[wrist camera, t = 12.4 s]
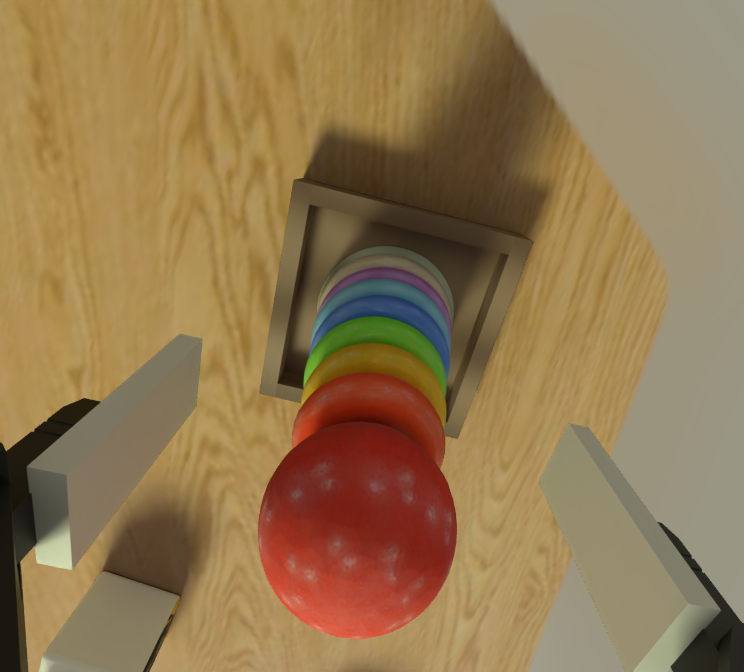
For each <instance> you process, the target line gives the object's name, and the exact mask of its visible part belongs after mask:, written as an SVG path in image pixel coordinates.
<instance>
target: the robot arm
mask: <svg viewBox="0 0 744 672" xmlns="http://www.w3.org/2000/svg"><path fill="white" fill-rule="evenodd" d="M201 349H202V339H201V338H196V337H192V336H188V335H183V334H179V335H178V336H177V337H175V338H174V339H173V340H172V341H171V342H170V343H169V344H167V345H166V346H165V347H164V348H163V349H162V350H160V351H159V352H158V353H157V354H156V355H155V356H154V357H152V358H151V359H150V360H149V361H148V362H147V363H145V364H144V365H143V366H142V367H141V368H140V369H139V370H137V371H136V372H135V373H134V374H133V375H132V376H130V377H129V378H128V379H127V380H126V381H125V382H124V383H122V384H121V385H120V386H119V387H118V388H117V389H115V390H114V391H113V392H112V393H111V394H110V395H109V396H107V397H106V398H105V399H104V400H103V401H102V402H100V401H95V400H90V399H86V398H83V399H81V400H79V401H76V402H74V403H71V404H69V405H67V406H64V407H62V408H61V409H60V410H59V411H57V412H56V413H55V414H53V415H52V416H51V417H50V418H48V420H47V422H45V421H44V422H43V423H42V424H41V425H39V426H38V427H37V428H36V429H35V430H34V432H30V433H29V434H28V435H27V436H25V437H24V438H23V439H21V440H20V441H19V442H18V443H16V444H15V445H14V446H12V447H11V448H10V449H9V450H7V451H6V450H5V448H4V446H3V444H2V443H0V672H28V661H27V647H26V632H25V618H24V604H23V589H22V575H21V565H20V561H21V560H22V559H23V558H24V557H25V556H26V554H27V553H28V552H29V551H30V550H31V549H32V548H33V547H34V546H35V550H36V559H37V563H39V564H44V565H49V566H54V567H59V568H65V569H70V570H73V568H74V567H75V566H76V564H77V563H78V562H79V560H80V559H81V558H82V556H83V555H84V554H85V552H86V551H87V550H88V548H89V547H90V546H91V545H92V543H93V542H94V541H95V539H96V538H97V537H98V535H99V534H100V533H101V531H102V530H103V529H104V527H105V526H106V525H107V523H108V522H109V521H110V519H111V518H112V517H113V516H114V514H115V513H116V512H117V510H118V509H119V508H120V506H121V505H122V504H123V502H124V501H125V500H126V498H127V497H128V496H129V494H130V493H131V492H132V490H133V489H134V488H135V487H136V485H137V484H138V483H139V481H140V480H141V479H142V477H143V476H144V475H145V473H146V472H147V471H148V469H149V468H150V467H151V465H152V464H153V463H154V461H155V460H156V459H157V458H158V456H159V455H160V454H161V452H162V451H163V450H164V448H165V447H166V446H167V444H168V443H169V442H170V440H171V439H172V438H173V436H174V435H175V434H176V432H177V431H178V430H179V429H180V427H181V426H182V425H183V423H184V422H185V421H186V419H187V418H188V417H189V415H190V414H191V413H192V411H193V410H194V409H195V407H196V406H197V394H198V383H199V372H200V361H201ZM539 483H540V486H541V488H542V490H543V492H544V494H545V497H546V499H547V501H548V503H549V505H550V508H551V510H552V512H553V514H554V516H555V519H556V521H557V523H558V525H559V527H560V530H561V532H562V534H563V536H564V538H565V541H566V543H567V545H568V547H569V549H570V552H571V554H572V556H573V558H574V560H575V563H576V565H577V567H578V569H579V571H580V574H581V576H582V578H583V580H584V583H585V585H586V587H587V589H588V591H589V594H590V596H591V598H592V600H593V602H594V605H595V607H596V609H597V611H598V613H599V616H600V618H601V620H602V622H603V624H604V627H605V629H606V631H607V633H608V635H609V638H610V640H611V642H612V644H613V646H614V648H615V651H616V653H617V655H618V657H619V660H620V662H621V664H622V666H623V668H624V670H625V672H668V671H669V670H670V669H672V671H673V672H744V623H742V622H741V621H740V620H739V618H738V617H737V616H736V614H735V613H734V612H733V610H732V609H731V608H730V606H729V605H728V604H727V602H726V601H725V600H724V598H723V597H722V596H721V594H720V593H719V592H718V590H717V589H716V588H715V586H714V585H713V584H712V582H711V581H710V580H709V578H708V577H707V576H706V574H705V573H702V569H701V568H700V566H699V565H698V564H697V562H696V561H695V560H694V559H692V558H691V554H690V553H689V552H688V550H687V549H686V548H685V546H684V545H683V544H682V542H681V541H680V540H679V538H677V537H676V536H675V535H674V534H673V533H672V532H671V531H670V530H669V529H668V528H667V527H665V526H664V525H663V524H662V523H659V522H657V521H656V520H655V519H654V517H653V516H652V514H651V513H650V512H649V510H648V509H647V507H646V506H645V505H644V503H643V502H642V501H641V499H640V498H639V496H638V495H637V494H636V492H635V491H634V490H633V488H632V487H631V485H630V484H629V483H628V481H627V480H626V478H625V477H624V476H623V474H622V473H621V472H620V470H619V469H618V467H617V466H616V465H615V463H614V462H613V461H612V459H611V458H610V456H609V455H608V454H607V452H606V451H605V449H604V448H603V447H602V445H601V444H600V443H599V441H598V440H597V438H596V437H595V436H594V434H593V433H592V432H591V430H590V429H589V428H587V427H583V426H579V425H574V424H570V423H568V425H567V427H566V429H565V431H564V433H563V435H562V437H561V439H560V441H559V443H558V445H557V447H556V449H555V451H554V453H553V455H552V457H551V459H550V461H549V462H548V464H547V466H546V468H545V470H544V472H543V474H542V476H541V478H540V480H539Z"/></svg>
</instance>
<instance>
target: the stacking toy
mask: <svg viewBox="0 0 744 672" xmlns="http://www.w3.org/2000/svg"><path fill="white" fill-rule="evenodd" d="M451 342H452V313H451V306H450V302H449V299H448V296H447V294H446V292H445V290H444V288H443V286H442V285H441V283H440V282H439V280H438V279H437V278H436V277H435V276H434V275H433V274H432V273H431V272H430V271H429V270H428V269H427V268H426V267H424V266H423V265H421V264H420V263H418V262H416V261H414V260H412V259H409V258H407V257H404V256H400V255H395V254H371V255H366V256H363V257H360V258H357V259H355V260H352V261H350V262H349V263H347V264H345V265H344V266H343V267H341V268H340V269H339V270H338V271H337V272H336V273H335V274H334V275H333V276H332V277H331V278H330V280H329V281H328V282H327V284H326V285H325V287H324V289H323V291H322V294H321V296H320V299H319V303H318V308H317V317H316V321H315V324H314V327H313V331H312V336H311V348H310V354H309V358H308V361H307V364H306V367H305V372H304V383H303V386H304V389H303V393H302V397H301V408H300V410H299V412H298V414H297V417H296V419H295V422H294V427H293V432H292V447H293V449H292V450H291V451H290V452H289V453H288V454H287V455H286V457H285V458H284V459H283V460H282V462H281V463H280V465H279V466H278V468H277V469H276V471H275V472H274V474H273V476H272V477H271V479H270V481H269V483H268V485H267V488H266V491H265V494H264V496H263V500H262V504H261V508H260V514H259V521H258V542H259V551H260V556H261V561H262V564H263V568H264V571H265V574H266V576H267V579H268V581H269V583H270V585H271V587H272V588H273V590H274V592H275V594H276V595H277V596H278V598H279V599H280V601H281V602H282V603H283V604H284V605H285V606H286V607H287V608H288V609H289V611H290V612H291V613H293V614H294V615H295V616H296V617H297V618H298V619H300V620H301V621H302V622H304V623H306V624H307V625H309V626H311V627H312V628H314V629H316V630H318V631H320V632H323V633H325V634H329V635H333V636H337V637H341V638H351V639H366V638H372V637H377V636H380V635H384V634H387V633H390V632H393V631H395V630H397V629H399V628H401V627H403V626H404V625H406V624H407V623H409V622H410V621H412V620H413V619H415V618H416V617H417V616H418V615H420V614H421V613H422V612H423V611H424V610H425V609H426V608H427V607H428V606H429V605H430V603H431V602H432V601H433V600H434V599H435V597H436V596H437V594H438V593H439V591H440V589H441V588H442V586H443V584H444V582H445V580H446V578H447V576H448V573H449V571H450V568H451V565H452V561H453V557H454V553H455V547H456V537H457V522H456V512H455V507H454V502H453V498H452V495H451V492H450V489H449V485H448V483H447V481H446V479H445V477H444V475H443V473H442V472H441V470H440V468H441V465H442V462H443V458H444V454H445V434H444V427H445V422H446V401H445V395H446V382H447V379H448V375H449V368H450V350H451Z"/></svg>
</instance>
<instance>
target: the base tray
mask: <svg viewBox="0 0 744 672" xmlns="http://www.w3.org/2000/svg"><path fill="white" fill-rule="evenodd" d="M533 242H534V241H532V240H530V239H528V238H526V237H525V236H523V235H521V234H518V233H514V232H510V231H506V230H502V229H498V228H494V227H491V226H487V225H483V224H479V223H475V222H471V221H467V220H463V219H459V218H456V217H452V216H448V215H444V214H440V213H436V212H432V211H428V210H424V209H421V208H417V207H413V206H409V205H405V204H401V203H397V202H393V201H389V200H386V199H382V198H378V197H374V196H370V195H366V194H362V193H358V192H354V191H351V190H347V189H343V188H339V187H335V186H331V185H327V184H323V183H319V182H316V181H312V180H308V179H304V178H301V179H295V180H294V181H293V187H292V193H291V199H290V205H289V212H288V218H287V224H286V230H285V236H284V243H283V249H282V255H281V261H280V267H279V274H278V280H277V286H276V292H275V298H274V305H273V311H272V317H271V323H270V329H269V336H268V342H267V348H266V354H265V360H264V367H263V373H262V379H261V385H260V392H259V394H263V395H268V396H272V397H276V398H281V399H285V400H290V401H294V402H298V403H301V397H302V393H303V389H304V386H303V383H304V372H305V367H306V364H307V361H308V358H309V354H310V348H311V336H312V331H313V327H314V324H315V321H316V317H317V308H318V303H319V299H320V296H321V294H322V291H323V289H324V287H325V285H326V284H327V282H328V281H329V280H330V278H331V277H332V276H333V275H334V274H335V273H336V272H337V271H338V270H339V269H340V268H341V267H343V266H344V265H345V264H347V263H349V262H350V261H352V260H355V259H357V258H360V257H363V256H366V255H371V254H395V255H400V256H404V257H407V258H409V259H412V260H414V261H416V262H418V263H420V264H421V265H423V266H424V267H426V268H427V269H428V270H429V271H430V272H431V273H432V274H433V275H434V276H435V277H436V278H437V279H438V280H439V282H440V283H441V285H442V286H443V288H444V290H445V292H446V294H447V296H448V299H449V302H450V306H451V313H452V342H451V350H450V368H449V375H448V379H447V382H446V395H445V401H446V422H445V427H444V434H445V436H447V437H452V438H456V439H458V437H459V434H460V432H461V429H462V426H463V424H464V421H465V419H466V416H467V413H468V411H469V408H470V406H471V403H472V400H473V398H474V395H475V393H476V390H477V387H478V385H479V382H480V380H481V377H482V374H483V372H484V369H485V367H486V364H487V361H488V359H489V356H490V354H491V351H492V348H493V346H494V343H495V341H496V338H497V335H498V333H499V330H500V327H501V325H502V322H503V320H504V317H505V314H506V312H507V309H508V307H509V304H510V301H511V299H512V296H513V294H514V291H515V288H516V286H517V283H518V281H519V278H520V275H521V273H522V270H523V268H524V265H525V262H526V260H527V257H528V255H529V252H530V249H531V247H532V244H533Z"/></svg>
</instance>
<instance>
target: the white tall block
mask: <svg viewBox="0 0 744 672" xmlns="http://www.w3.org/2000/svg"><path fill="white" fill-rule="evenodd" d="M179 601H180V597H179V595H176V594H173V593H170V592H167V591H164V590H161V589H158V588H155V587H152V586H149V585H146V584H143V583H140V582H137V581H134V580H131V579H128V578H125V577H121V576H118V575H115V574H112V573H109V572H106V571H104V572H102V573H100V575H99V576H98V577H97V579H96V580H95V582H94V583H93V584H92V586H91V587H90V589H89V590H88V592H87V593H86V594H85V596H84V597H83V599H82V600H81V602H80V603H79V604H78V606H77V607H76V609H75V610H74V611H73V613H72V614H71V616H70V617H69V619H68V620H67V621H66V623H65V624H64V626H63V627H62V628H61V630H60V631H59V633H58V634H57V636H56V637H55V638H54V640H53V641H52V643H51V644H50V646H49V647H48V648H47V650H46V651H45V653H44V654H43V656H42V660H41V665H40V669H39V672H149V671H150V669H151V667H152V665H153V663H154V661H155V658H156V656H157V654H158V652H159V650H160V648H161V646H162V644H163V641H164V639H165V636H166V634H167V631H168V629H169V626H170V624H171V621H172V619H173V616H174V614H175V611H176V609H177V606H178V604H179Z"/></svg>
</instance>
